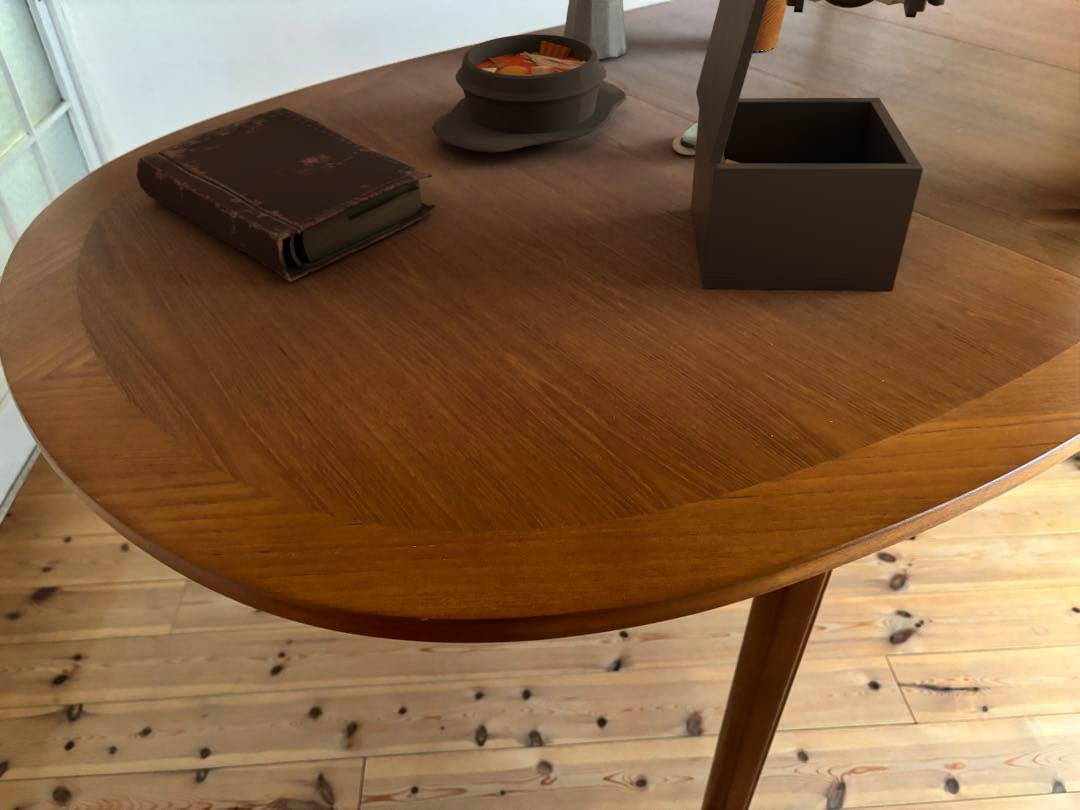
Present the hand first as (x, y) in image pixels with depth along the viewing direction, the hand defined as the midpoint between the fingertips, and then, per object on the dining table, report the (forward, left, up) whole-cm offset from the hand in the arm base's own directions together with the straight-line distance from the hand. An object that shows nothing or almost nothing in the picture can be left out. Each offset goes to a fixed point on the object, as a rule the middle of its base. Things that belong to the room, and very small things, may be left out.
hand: (856, 1), depth 71 cm
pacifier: (+9, -21, -21) cm, 31 cm away
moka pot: (+21, -53, -21) cm, 61 cm away
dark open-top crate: (+3, +1, -21) cm, 21 cm away
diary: (+51, -6, -21) cm, 55 cm away
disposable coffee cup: (-1, -56, -21) cm, 60 cm away
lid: (+9, +1, -1) cm, 9 cm away
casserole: (+28, -27, -21) cm, 44 cm away
